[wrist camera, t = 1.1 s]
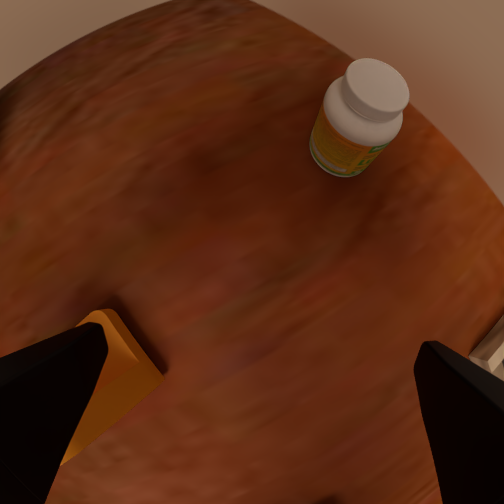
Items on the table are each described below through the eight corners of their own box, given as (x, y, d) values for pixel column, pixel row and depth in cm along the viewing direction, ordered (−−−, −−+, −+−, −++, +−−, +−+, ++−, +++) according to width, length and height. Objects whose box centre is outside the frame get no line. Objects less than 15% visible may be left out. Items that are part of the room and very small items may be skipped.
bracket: (115, 302, 23) (15, 314, 11) (168, 375, 22) (100, 444, 11) (44, 365, 23) (-46, 396, 11) (88, 428, 22) (14, 488, 10)
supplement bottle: (350, 191, 24) (401, 141, 14) (295, 152, 24) (316, 83, 14) (380, 146, 24) (431, 86, 14) (329, 110, 24) (358, 37, 15)
